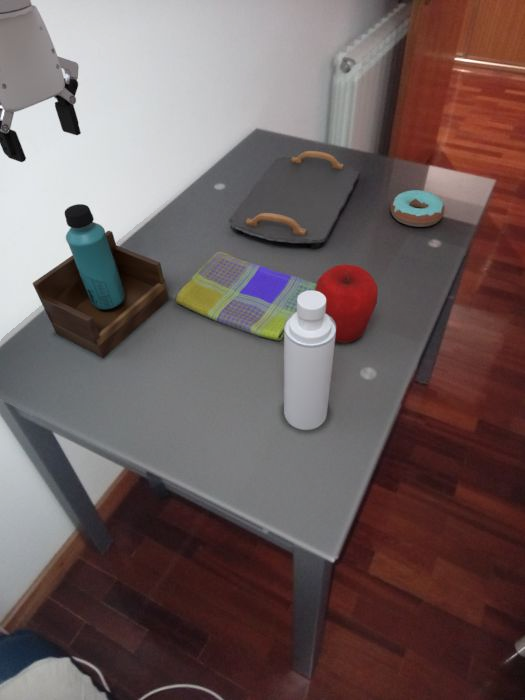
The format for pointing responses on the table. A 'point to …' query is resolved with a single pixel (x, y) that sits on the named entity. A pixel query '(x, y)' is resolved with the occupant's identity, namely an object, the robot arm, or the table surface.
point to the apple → (348, 299)
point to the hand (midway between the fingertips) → (45, 145)
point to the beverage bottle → (93, 258)
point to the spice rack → (102, 324)
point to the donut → (417, 208)
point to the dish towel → (243, 295)
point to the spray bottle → (308, 361)
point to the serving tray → (297, 199)
